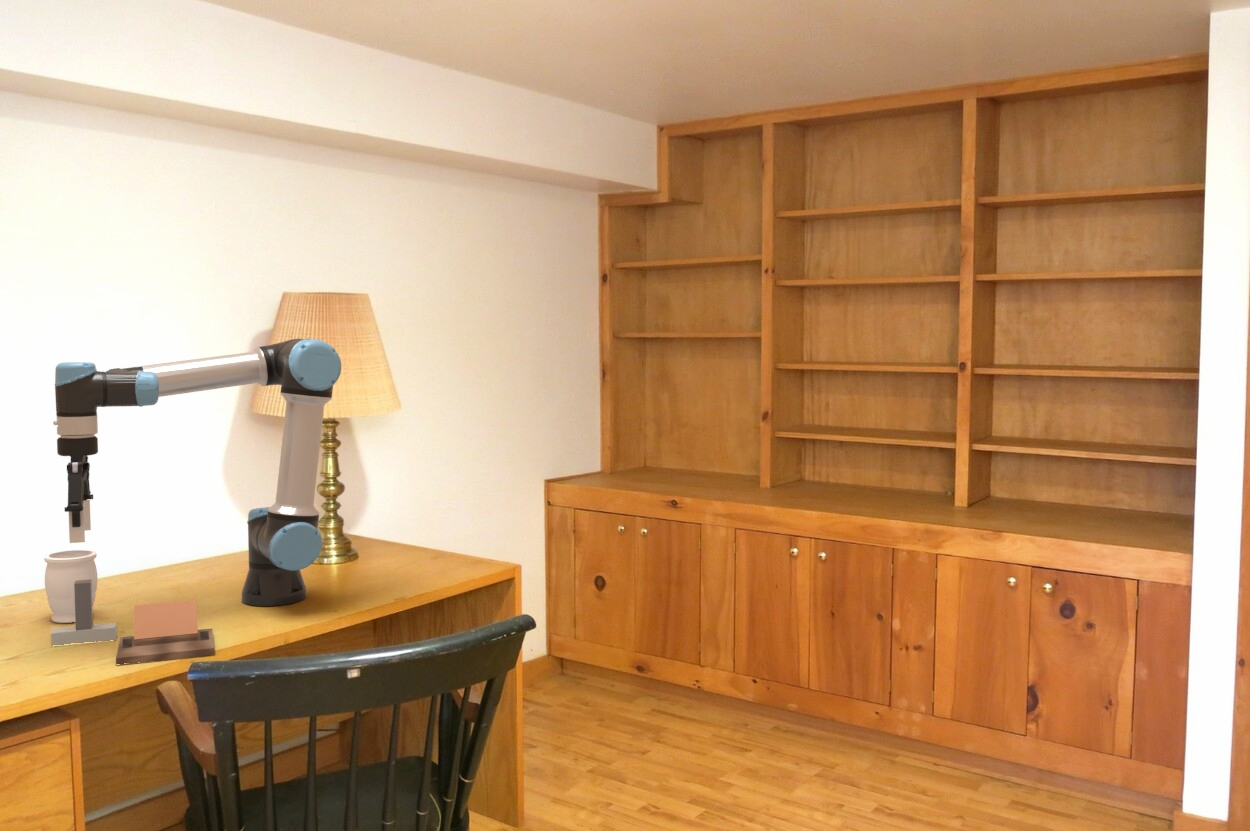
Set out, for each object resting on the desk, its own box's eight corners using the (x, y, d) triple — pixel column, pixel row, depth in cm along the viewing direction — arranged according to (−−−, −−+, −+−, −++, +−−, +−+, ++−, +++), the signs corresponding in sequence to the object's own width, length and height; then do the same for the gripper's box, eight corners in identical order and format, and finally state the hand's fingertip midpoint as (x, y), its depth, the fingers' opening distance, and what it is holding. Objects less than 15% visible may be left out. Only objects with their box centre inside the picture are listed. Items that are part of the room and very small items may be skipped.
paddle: (116, 636, 220) (115, 577, 219) (115, 641, 216) (114, 581, 215) (53, 642, 215) (51, 581, 214) (51, 647, 212) (49, 586, 211)
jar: (106, 612, 238) (105, 549, 237) (84, 625, 228) (82, 559, 226) (60, 612, 238) (58, 549, 236) (36, 625, 227) (34, 559, 226)
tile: (196, 601, 216) (196, 600, 215) (197, 634, 214) (197, 633, 213) (134, 606, 211) (133, 605, 210) (134, 640, 209) (134, 639, 208)
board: (212, 635, 221) (212, 620, 221) (214, 655, 208) (214, 639, 207) (120, 644, 214) (119, 628, 214) (116, 665, 200) (115, 649, 200)
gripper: (63, 431, 223) (66, 526, 224) (49, 442, 200) (53, 549, 201) (102, 430, 226) (104, 524, 227) (92, 441, 203) (95, 546, 204)
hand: (80, 536), depth 214 cm, fingers open, 13 cm apart
